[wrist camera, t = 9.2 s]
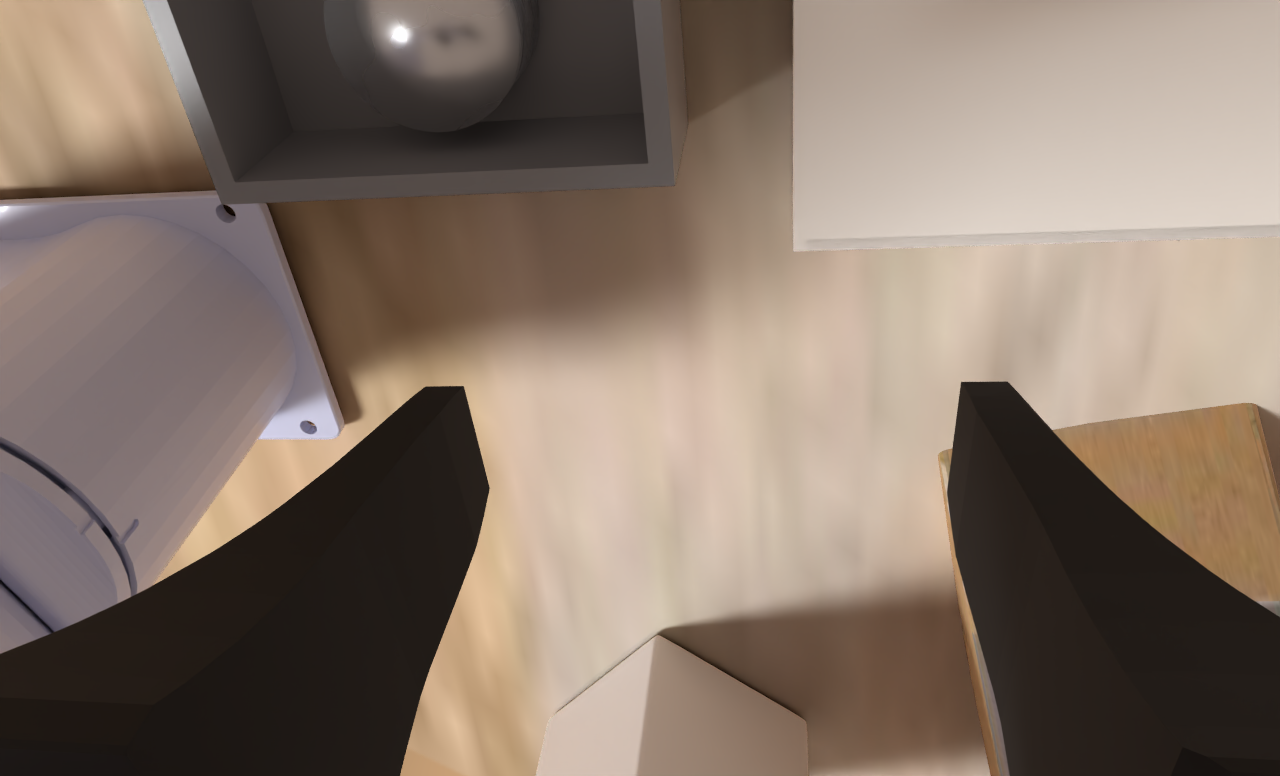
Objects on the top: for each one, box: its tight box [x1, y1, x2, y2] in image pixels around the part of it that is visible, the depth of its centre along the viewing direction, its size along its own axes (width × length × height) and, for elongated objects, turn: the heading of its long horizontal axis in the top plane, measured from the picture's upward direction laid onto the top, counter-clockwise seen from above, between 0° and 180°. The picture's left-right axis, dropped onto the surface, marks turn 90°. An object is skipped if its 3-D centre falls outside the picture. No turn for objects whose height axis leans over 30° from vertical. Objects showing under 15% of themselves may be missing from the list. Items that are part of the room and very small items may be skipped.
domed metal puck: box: [324, 0, 540, 132], centre depth 19 cm, size 4×4×2 cm
